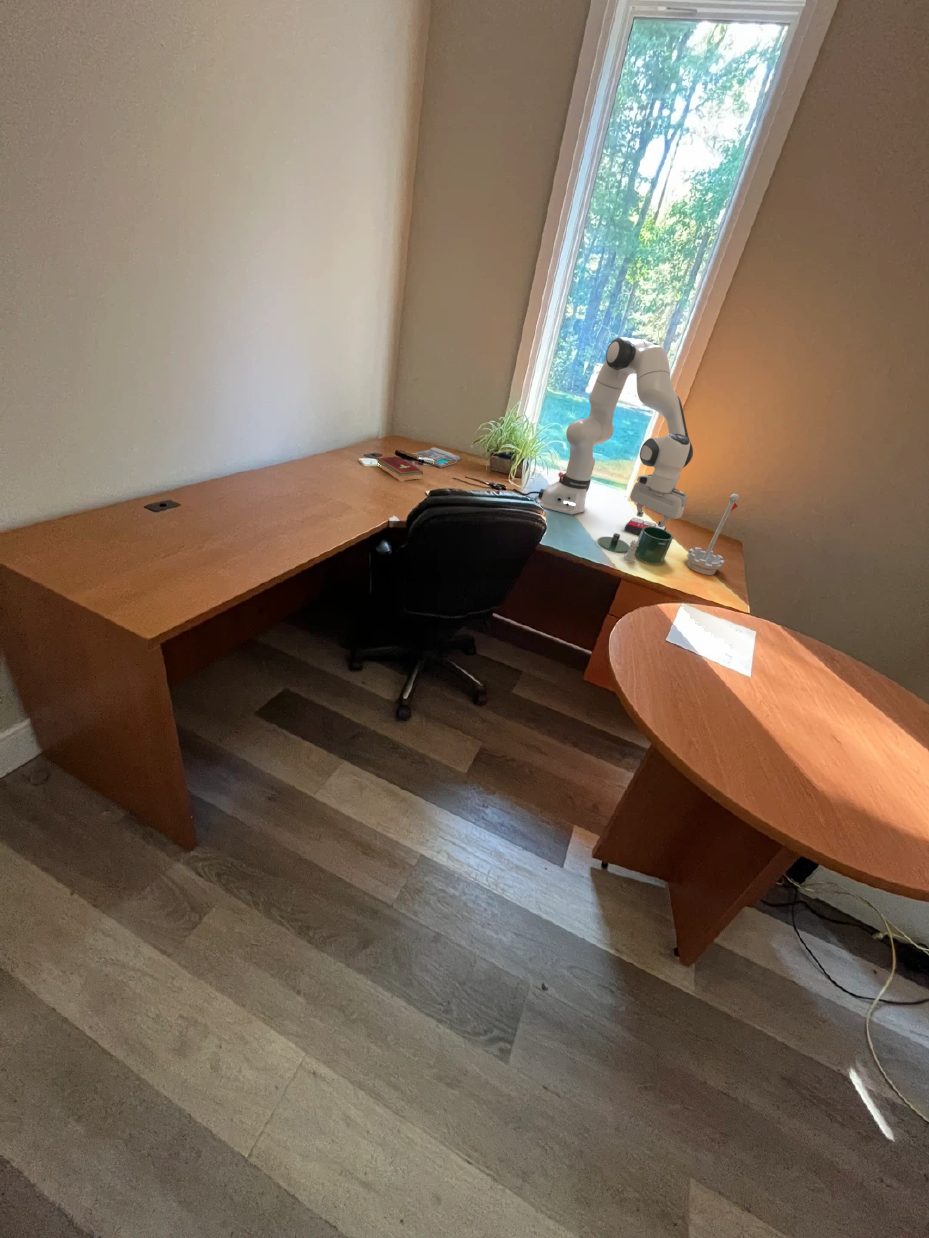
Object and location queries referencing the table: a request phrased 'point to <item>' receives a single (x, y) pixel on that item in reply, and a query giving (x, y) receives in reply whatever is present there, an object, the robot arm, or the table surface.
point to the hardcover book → (399, 466)
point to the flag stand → (710, 548)
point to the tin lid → (613, 543)
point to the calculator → (639, 526)
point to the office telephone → (439, 456)
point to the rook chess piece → (631, 552)
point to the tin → (653, 544)
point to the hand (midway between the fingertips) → (649, 521)
